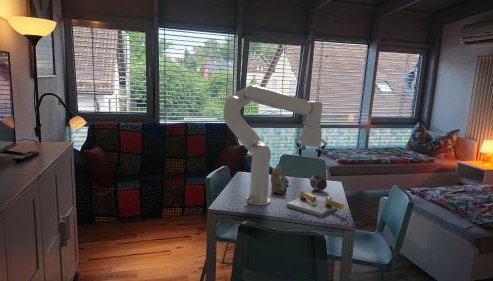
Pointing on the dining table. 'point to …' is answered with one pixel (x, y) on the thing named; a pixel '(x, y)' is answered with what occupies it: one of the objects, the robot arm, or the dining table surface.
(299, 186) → the dining table surface
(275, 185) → the rock
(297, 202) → the levelling base
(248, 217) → the dining table surface
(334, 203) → the knob
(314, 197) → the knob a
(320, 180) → the mineral specimen
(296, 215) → the dining table surface
